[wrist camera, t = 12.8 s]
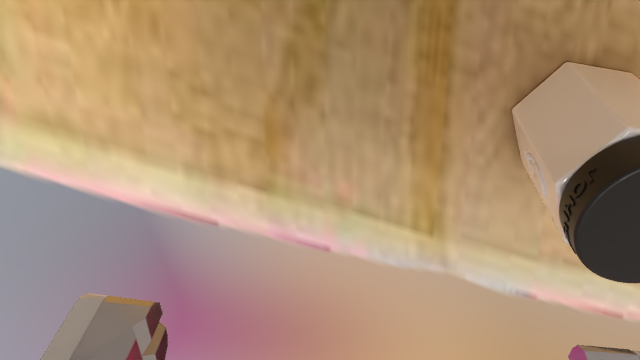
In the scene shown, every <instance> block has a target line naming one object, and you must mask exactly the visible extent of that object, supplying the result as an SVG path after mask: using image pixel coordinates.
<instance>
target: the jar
mask: <svg viewBox="0 0 640 360" xmlns="http://www.w3.org/2000/svg"><path fill="white" fill-rule="evenodd" d="M512 116H513V120H514V126H515V131H516V136H517V141H518V146H519V151H520V156H521V161H522V163H523V165H524V167H525V169H526V171H527V173H528V174H529V176H530V178H531V180H532V182H533V184H534V186H535V188H536V190H537V191H538V193H539V195H540V197H541V199H542V201H543V203H544V205H545V206H546V208H547V210H548V212H549V214H550V216H551V218H552V220H553V221H554V223H555V225H556V227H557V229H558V231H559V233H560V235H561V237H562V238H563V240H564V242H565V243H566V244H570V246H571V247H572V249H573V251H574V253H575V254H577V256H578V257H579V259H580V260H581V262H582V263H583V264H584V265H585V266H586V267H587V268H588V269H589V270H591V271H592V272H593V273H595V274H597V275H599V276H601V277H603V278H606V279H609V280H613V281H617V282H623V283H640V79H638V78H637V77H636V76H635V75H634V74H632V73H629V72H623V71H618V70H612V69H606V68H601V67H595V66H590V65H584V64H578V63H573V62H566V63H564V64H563V65H562V66H561V67H560V68H558V69H557V70H556V71H555V72H554V73H553V74H552V75H550V76H549V77H548V78H547V79H546V80H545V81H544V82H542V83H541V84H540V85H539V86H538V87H537V88H535V89H534V90H533V91H532V92H531V93H530V94H529V95H527V96H526V97H525V98H524V99H523V100H522V101H520V102H519V103H518V104H517V105H516V106H515V107H514V108H513V109H512Z"/></svg>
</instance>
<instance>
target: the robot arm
mask: <svg viewBox="0 0 640 360" xmlns="http://www.w3.org/2000/svg"><path fill="white" fill-rule="evenodd" d="M162 314H163V312H162V308H161V305H160V302H152V301H144V300H137V299H128V298H122V297H114V296H106V295H97V294H88V293H85V294H84V295H82V296H81V297H80V298H79V299H78V300H77V301H76V303H75V305H74V306H73V308H72V309H71V311H70V313H69V314H68V316H67V317H66V319H65V321H64V322H63V324H62V326H61V327H60V329H59V330H58V332H57V334H56V335H55V337H54V339H53V340H52V342H51V343H50V345H49V346H48V348H47V350H46V351H45V353H44V354H43V356H42V358H41V359H40V360H165V357H166V352H167V347H168V334H167V329H166V327H165V326H164V325H163V324H162V323H160V322H159V321H160V319H161V316H162ZM568 357H569V360H640V351H631V350H628V349H617V348H606V347H595V346H584V345H577V346H575V347H574V348H572V350H571V352H570V354H569V356H568Z"/></svg>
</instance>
